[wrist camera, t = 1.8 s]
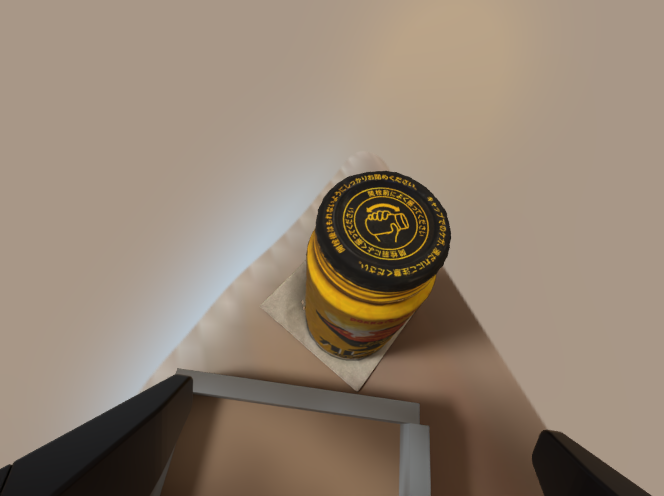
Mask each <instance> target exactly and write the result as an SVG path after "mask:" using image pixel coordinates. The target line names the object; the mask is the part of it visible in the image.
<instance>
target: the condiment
mask: <svg viewBox="0 0 664 496" xmlns="http://www.w3.org/2000/svg"><path fill="white" fill-rule="evenodd" d="M450 240H451V231H450V226H449V221H448V218H447V213H446V211H445V209H444V208H443V207H442V205H441V204H440V202H439V201H438V200H437V198H435V197H434V195H433V194H432V193H431V192H430V191H429V190H428V189H427V188H426V187H424V186H423V185H422V184H420V183H419V182H417V181H415V180H413V179H412V178H410V177H408V176H404V175H402V174H399V173H397V172H389V171H376V172H366V173H362V174H357V175H353V176H349V177H347V178H345V179H344V180H342V181H341V182H339V183H337V184H336V185H335V186H334V187H333V188H332V189H331V190H330V191H329V192H328V193H327V194H326V196H325V197H324V198H323V201H322V203H321V205H320V207H319V209H318V215H317V220H316V228H315V230H314V231H313V233H312V235H311V237H310V240H309V242H308V248H307V253H306V260H305V261H304V263H303V264H302V265H301V266H300V267H299V268H297V269H296V270H295V271H294V272H293V273H292V275H291V276H290V277H289V278H288V279H287V280H285V281H284V282H283V283H282V284H281V285H280V286H279V287H278V288H277V290H276V291H275V292H274V293H273V294H271V295H270V296H269V297H268V298H267V299H266V300H265V301H264V302H263V303H262V304H261V305H260V307H261V308H262V309H263V310H264V311H265V312H267V313H268V314H269V315H270V316H271V317H272V318H273V319H275V320H276V321H277V322H278V323H279V324H281V325H282V326H283V327H284V328H285V329H286V330H287V331H288V332H289V333H291V334H292V335H293V336H294V337H295V338H296V339H297V340H299V341H300V342H301V343H302V344H303V345H304V346H305V347H306V348H307V349H309V350H310V351H311V352H312V353H313V354H314V355H315V356H316V357H318V358H319V359H320V360H321V361H322V362H323V363H324V364H326V365H327V366H328V367H329V368H330V369H331V370H332V371H334V372H335V373H336V374H337V375H338V376H339V377H341V378H342V379H343V380H344V381H345V382H346V383H347V384H348V385H350V386H351V387H352V388H353V389H354V390H356V391H357V392H358V391H359V389H360V388H361V386H362V385H363V384H364V382H365V381H366V379H367V378H368V377H369V375H370V374H371V372H372V371H373V370H374V368H375V367H376V365H377V364H378V363H379V361H380V360H381V358H382V357H383V356H384V354H385V353H386V351H387V350H388V349H389V347H390V346H391V344H392V343H393V342H394V340H395V339H396V337H397V336H398V335H399V333H400V332H401V330H402V329H403V328H404V326H405V325H406V324H407V322H408V321H409V319H410V318H411V317H412V315H413V314H414V312H415V311H416V310H417V309H418V308H419V307H420V305H421V304H422V303H423V302H424V301H425V300H426V299H427V298H428V296H429V294H430V293H431V290H432V287H433V285H434V283H435V280H436V274H437V272H438V271H439V269H440V268H441V267H442V266H443V265H444V261H445V259H446V258H447V256H448V251H449V248H450V245H449V244H450ZM302 300H303V301H304V305H303V304H302V303H301V301H302ZM303 306H305V310H303Z"/></svg>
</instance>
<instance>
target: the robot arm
mask: <svg viewBox="0 0 664 496" xmlns="http://www.w3.org/2000/svg"><path fill="white" fill-rule="evenodd" d="M192 402H193V378H192V377H191V376H189V375H182V374H175V375H173V376H171V377H169V378H167V379H166V380H164V381H162V382H160V383H158V384H156V385H154V386H153V387H151V388H149V389H147V390H145V391H143V392H142V393H140V394H138V395H136V396H134V397H132V398H131V399H129V400H127V401H125V402H123V403H122V404H119V405H118V406H116V407H114V408H112V409H110V410H108V411H107V412H105V413H103V414H101V415H99V416H97V417H95V418H94V419H92V420H90V421H88V422H86V423H84V424H83V425H81V426H79V427H77V428H75V429H74V430H72V431H70V432H68V433H66V434H64V435H62V436H61V437H59V438H57V439H55V440H53V441H51V442H49V443H48V444H46V445H44V446H42V447H40V448H38V449H36V450H35V451H33V452H31V453H29V454H27V455H25V456H24V457H22V458H20V459H18V460H16V461H15V462H14V463H13V465H10V464H9V465H7V466H5V467H3V468H1V469H0V496H150V495H151V493H152V491H153V490H154V488H155V486H156V484H157V482H158V481H159V479H160V477H161V475H162V473H163V471H164V469H165V467H166V465H167V462H168V460H169V458H170V456H171V454H172V451H173V449H174V447H175V445H176V442H177V440H178V438H179V436H180V434H181V431H182V429H183V427H184V425H185V423H186V420H187V418H188V416H189V414H190V411H191V408H192ZM532 463H533V467H534V469H535V472H536V475H537V477H538V480H539V483H540V485H541V488H542V491H543V493H544V496H651V495H650V494H649V493H647V492H646V491H644V490H643V489H641V488H640V487H639V486H637V485H636V484H634V483H633V482H631V481H630V480H629V479H627V478H626V477H624V476H623V475H621V474H620V473H619V472H617V471H616V470H614V469H613V468H612V467H610V466H609V465H607V464H606V463H604V462H603V461H601V460H600V459H599V458H597V457H596V456H595V455H593V454H592V453H590V452H589V451H587V450H586V449H585V448H583V447H582V446H580V445H579V444H577V443H576V442H575V441H573V440H572V439H570V438H569V437H567V436H566V435H565V434H563V433H561V432H558V431H552V430H543V431H542V432H541V433H540V435H539V438H538V441H537V443H536V446H535V448H534V451H533V454H532Z"/></svg>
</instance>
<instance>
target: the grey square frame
mask: <svg viewBox="0 0 664 496" xmlns="http://www.w3.org/2000/svg"><path fill="white" fill-rule="evenodd" d="M176 374H182V375H189V376H191V377H192V378H193V402H192V408H191V411H190V414H189V416H188V418H187V420H186V423H185V425H184V427H183V429H182V431H181V434H180V436H179V438H178V440H177V442H176V445H175V447H174V449H173V451H172V454H171V456H170V458H169V460H168V462H167V465H166V467H165V469H164V471H163V473H162V475H161V477H160V479H159V481H158V482H157V484H156V486H155V488H154V490H153V491H152V493H151V495H150V496H431V483H430V436H429V426H426V425H420V403H413V402H407V401H400V400H393V399H386V398H379V397H372V396H365V395H358V394H351V393H344V392H338V391H331V390H324V389H317V388H310V387H303V386H296V385H289V384H282V383H275V382H268V381H262V380H255V379H248V378H241V377H234V376H227V375H220V374H213V373H206V372H199V371H193V370H186V369H179V368H177V371H176Z"/></svg>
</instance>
